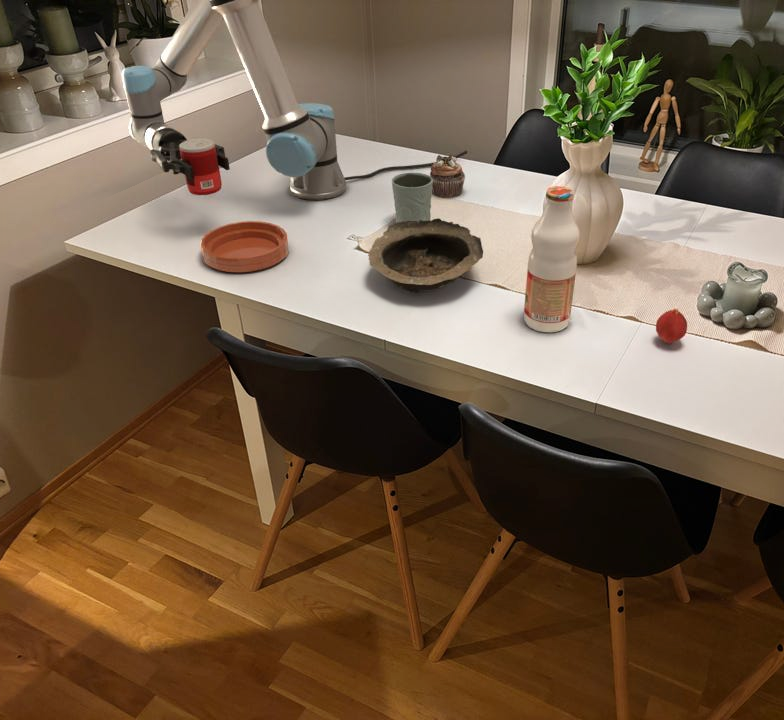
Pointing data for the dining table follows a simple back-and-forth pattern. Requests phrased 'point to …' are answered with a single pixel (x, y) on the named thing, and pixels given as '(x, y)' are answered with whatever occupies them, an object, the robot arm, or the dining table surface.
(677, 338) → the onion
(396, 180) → the green embossed cup
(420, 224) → the stone bowl
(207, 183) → the canned food
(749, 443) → the dining table surface
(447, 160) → the cupcake
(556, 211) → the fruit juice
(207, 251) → the bowl
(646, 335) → the dining table surface
